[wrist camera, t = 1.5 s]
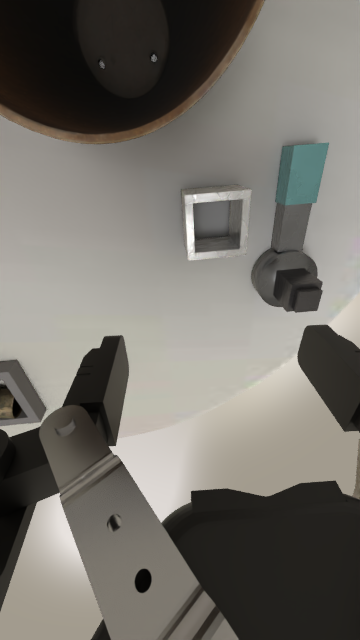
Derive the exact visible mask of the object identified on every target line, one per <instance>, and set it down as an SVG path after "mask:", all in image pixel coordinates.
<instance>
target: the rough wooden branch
mask: <svg viewBox="0 0 360 640" xmlns="http://www.w3.org/2000/svg"><path fill="white" fill-rule="evenodd" d="M21 412H22V408H21V406H20V405H19V403H18V402H17V400H16V399H15V397H14V396H13V395H12V393H11V392H10V390H9V389H8V388H7V389H6V388H0V418H12V419H14V418H17V417H18V416H19V415H20V414H21Z"/></svg>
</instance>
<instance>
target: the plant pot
mask: <svg viewBox="0 0 360 640" xmlns="http://www.w3.org/2000/svg"><path fill="white" fill-rule="evenodd" d="M264 1H265V0H0V115H2V116H3V117H5V118H7V119H8V120H10V121H12V122H15V123H17V124H19V125H21V126H23V127H25V128H28V129H30V130H32V131H35V132H38V133H41V134H44V135H47V136H50V137H53V138H56V139H60V140H64V141H70V142H76V143H84V144H108V143H117V142H122V141H127V140H131V139H135V138H138V137H141V136H144V135H146V134H149V133H151V132H154V131H156V130H158V129H159V128H161V127H163V126H165V125H167V124H169V123H170V122H172V121H173V120H175V119H176V118H178V117H179V116H181V115H182V114H184V113H185V112H186V111H187V110H189V109H190V108H191V107H192V106H193V105H194V104H196V103H197V102H198V101H199V100H200V99H201V98H202V97H203V96H204V95H205V94H206V93H207V92H208V91H209V90H210V89H211V87H212V86H213V85H214V84H215V83H216V82H217V80H218V79H219V78H220V77H221V76H222V74H223V73H224V72H225V70H226V69H227V67H228V66H229V65H230V63H231V62H232V60H233V59H234V58H235V56H236V54H237V53H238V51H239V50H240V48H241V47H242V45H243V43H244V41H245V39H246V38H247V36H248V34H249V32H250V30H251V29H252V27H253V25H254V23H255V21H256V19H257V17H258V15H259V13H260V10H261V8H262V6H263V4H264ZM152 53H155V54H156V55H157V61H156V62H152V61H151V60H150V56H151V54H152ZM99 60H102V61H103V63H104V64H105V68H104V69H102V68H101V67H100V66H99V63H98V61H99Z"/></svg>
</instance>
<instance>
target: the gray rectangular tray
mask: <svg viewBox="0 0 360 640" xmlns="http://www.w3.org/2000/svg"><path fill="white" fill-rule="evenodd" d="M0 380H3V381H4V383H5V384H6V386H7V387H8V389H9V390H10V392H11V393H12V395H13V396H14V397H15V399H16V400H17V402H18V403H19V405H20V406H21V408H22V412H21V414H20V415H19V416H18V417H17V418H14V419H12V418H0V426H6V425H16V424H26V423H36V422H41V420H42V418H43V416H44V414H45V411H46V408H45V406H44V405H43V403H42V401H41V400H40V398H39V396H38V395H37V393H36V391H35V390H34V388H33V386H32V385H31V383H30V381H29V379H28V378H27V376H26V374H25V373H24V371H23V369H22V368H21V366H20V364H19V363H18V361H17V360H12V361H1V362H0Z"/></svg>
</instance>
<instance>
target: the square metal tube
mask: <svg viewBox="0 0 360 640" xmlns="http://www.w3.org/2000/svg"><path fill="white" fill-rule="evenodd" d="M181 198H182V214H183V231H184V246H185V250H186V254H187V258H188V260H199V259H210V258H221V257H232V256H243V255H246V252H247V240H248V227H249V215H250V203H251V189H248V188H246V187H243V186H240V185H228V186H216V187H205V188H193V189H181ZM225 200H230V214H229V236H224V237H213V238H202V239H194V221H193V203H202V202H213V201H225Z"/></svg>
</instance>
